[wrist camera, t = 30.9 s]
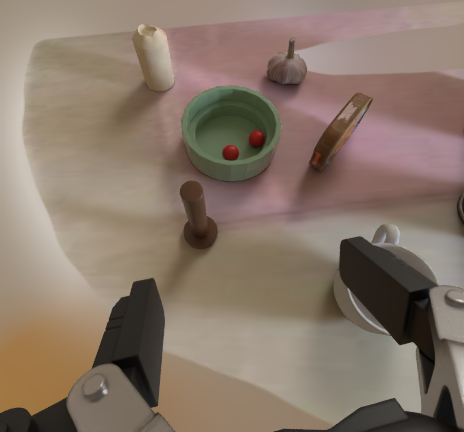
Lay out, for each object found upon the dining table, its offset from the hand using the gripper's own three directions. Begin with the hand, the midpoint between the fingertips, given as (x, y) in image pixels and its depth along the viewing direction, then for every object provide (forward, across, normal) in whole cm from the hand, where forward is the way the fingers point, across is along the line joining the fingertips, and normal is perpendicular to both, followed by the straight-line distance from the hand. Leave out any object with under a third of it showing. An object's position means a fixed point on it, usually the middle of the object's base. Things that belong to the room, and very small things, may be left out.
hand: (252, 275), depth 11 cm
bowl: (+38, -5, 0) cm, 38 cm away
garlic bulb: (+48, -20, -9) cm, 53 cm away
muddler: (+27, +2, +11) cm, 29 cm away
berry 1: (+34, -5, +1) cm, 35 cm away
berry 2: (+36, -10, 0) cm, 37 cm away
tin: (+36, -23, +3) cm, 42 cm away
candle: (+50, +5, -12) cm, 52 cm away
